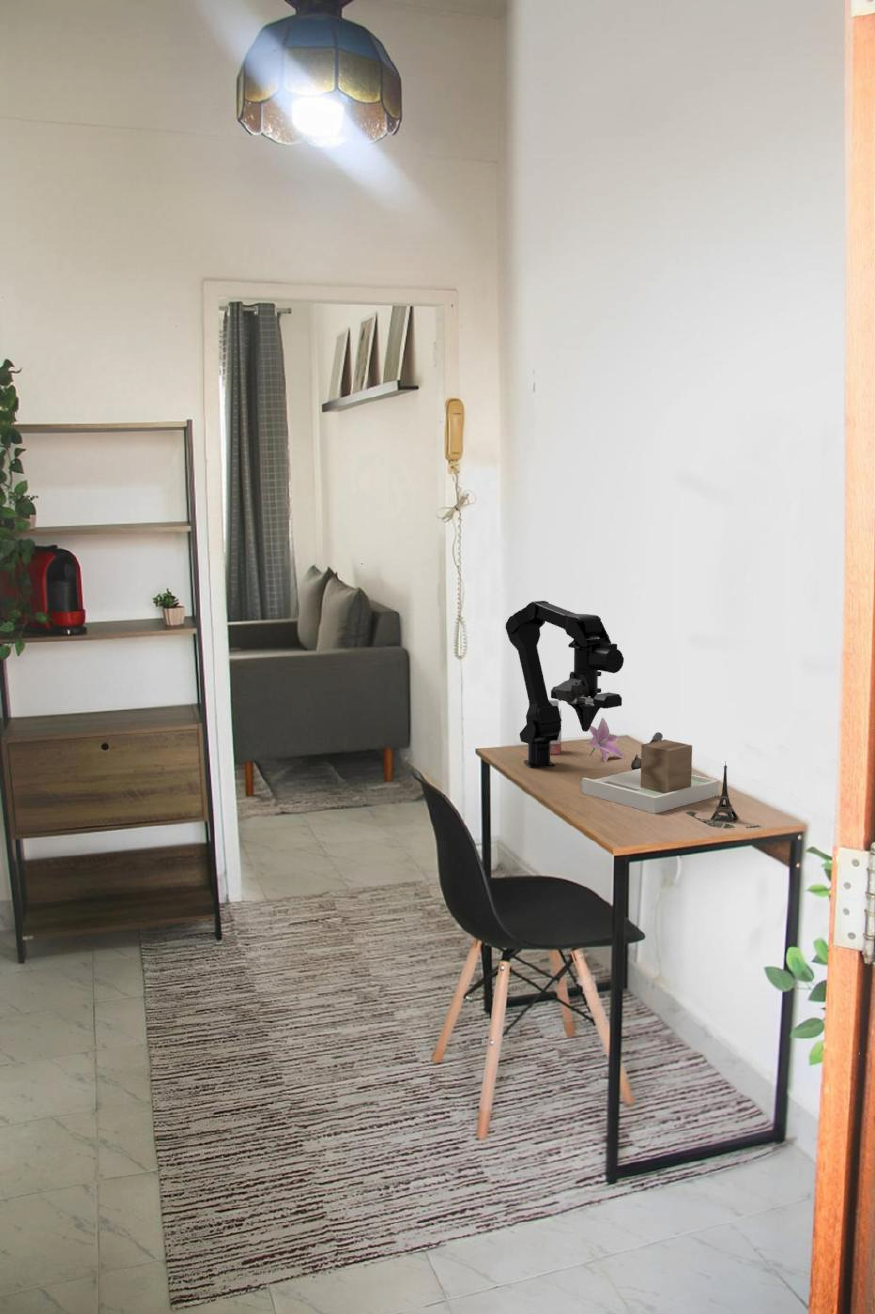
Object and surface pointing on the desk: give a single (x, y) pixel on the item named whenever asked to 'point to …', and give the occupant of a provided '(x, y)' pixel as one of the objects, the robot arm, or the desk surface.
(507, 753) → the desk surface
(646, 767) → the walnut block
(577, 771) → the desk surface
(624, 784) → the box
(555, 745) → the ink cartridge box
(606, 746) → the lily
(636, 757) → the portable electronic device stand
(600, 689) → the robot arm
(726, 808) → the eiffel tower figurine
